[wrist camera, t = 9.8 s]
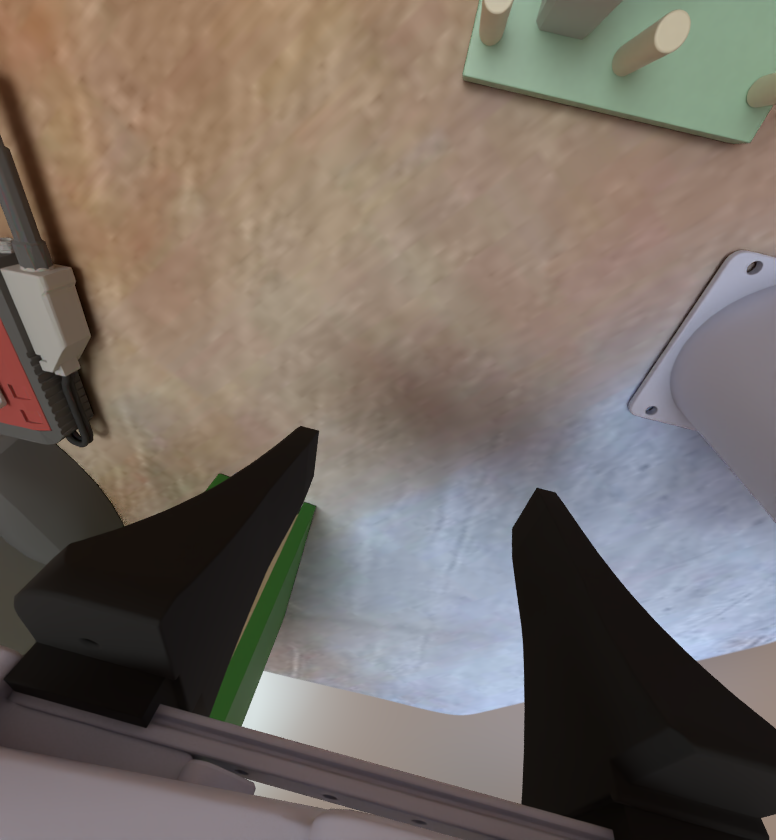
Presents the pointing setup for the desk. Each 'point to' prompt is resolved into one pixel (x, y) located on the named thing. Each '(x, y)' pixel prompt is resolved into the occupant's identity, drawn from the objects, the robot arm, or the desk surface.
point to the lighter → (573, 16)
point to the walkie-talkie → (38, 330)
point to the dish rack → (640, 62)
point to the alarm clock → (41, 520)
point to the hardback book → (261, 622)
